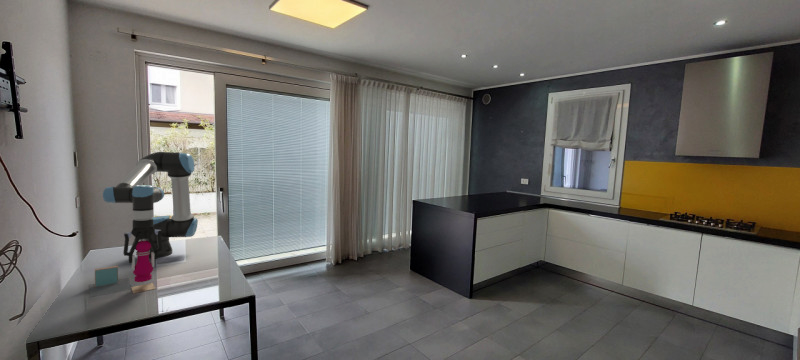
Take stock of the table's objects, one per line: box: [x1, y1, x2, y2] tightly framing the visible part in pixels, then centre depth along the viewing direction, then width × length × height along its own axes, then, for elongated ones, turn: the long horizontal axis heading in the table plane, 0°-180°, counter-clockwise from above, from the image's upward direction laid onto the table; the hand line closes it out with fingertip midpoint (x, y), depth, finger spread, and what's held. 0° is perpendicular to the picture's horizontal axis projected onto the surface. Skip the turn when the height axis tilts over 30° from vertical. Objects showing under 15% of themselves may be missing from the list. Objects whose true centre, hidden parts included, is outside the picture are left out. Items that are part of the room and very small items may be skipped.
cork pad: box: [131, 282, 156, 294], centre depth 149 cm, size 8×8×1 cm
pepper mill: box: [132, 239, 154, 283], centre depth 148 cm, size 7×7×20 cm
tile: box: [94, 265, 119, 287], centre depth 151 cm, size 8×2×8 cm, turn 135°
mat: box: [88, 277, 132, 298], centre depth 149 cm, size 14×17×1 cm
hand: (143, 267), depth 149 cm, fingers closed on pepper mill, 6 cm apart
